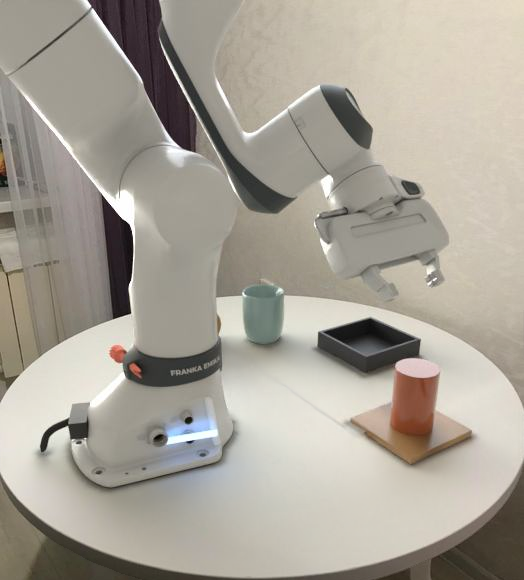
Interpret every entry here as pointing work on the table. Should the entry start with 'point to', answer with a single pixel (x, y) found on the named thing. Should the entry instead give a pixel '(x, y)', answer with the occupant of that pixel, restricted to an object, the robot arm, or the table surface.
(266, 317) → the cup
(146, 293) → the robot arm
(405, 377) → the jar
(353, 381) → the table surface
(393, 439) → the board
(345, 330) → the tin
